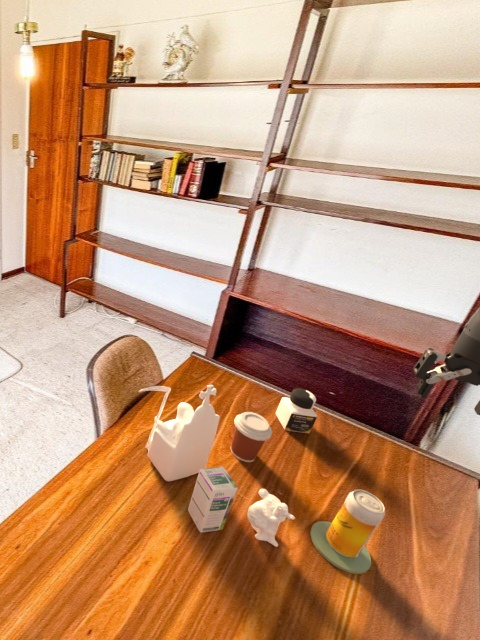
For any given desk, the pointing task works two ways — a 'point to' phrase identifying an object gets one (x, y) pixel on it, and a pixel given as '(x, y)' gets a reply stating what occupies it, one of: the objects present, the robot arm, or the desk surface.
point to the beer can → (355, 523)
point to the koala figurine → (267, 516)
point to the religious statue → (183, 437)
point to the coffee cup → (249, 435)
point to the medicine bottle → (297, 411)
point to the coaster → (342, 562)
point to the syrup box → (212, 499)
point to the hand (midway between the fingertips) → (449, 404)
